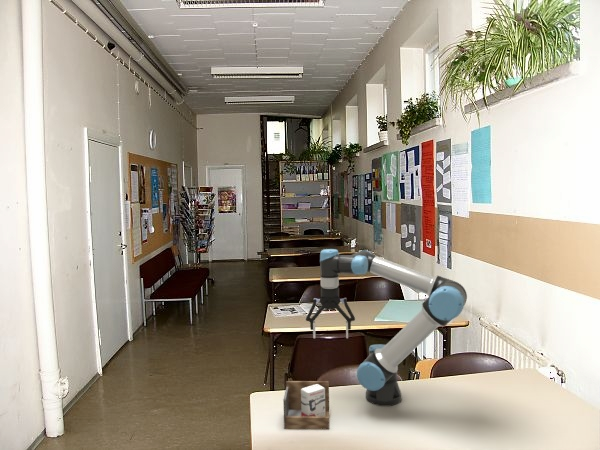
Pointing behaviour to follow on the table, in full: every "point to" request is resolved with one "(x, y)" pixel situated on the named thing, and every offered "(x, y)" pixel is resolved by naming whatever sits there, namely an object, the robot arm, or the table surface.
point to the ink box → (313, 401)
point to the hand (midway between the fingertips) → (330, 337)
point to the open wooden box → (293, 407)
